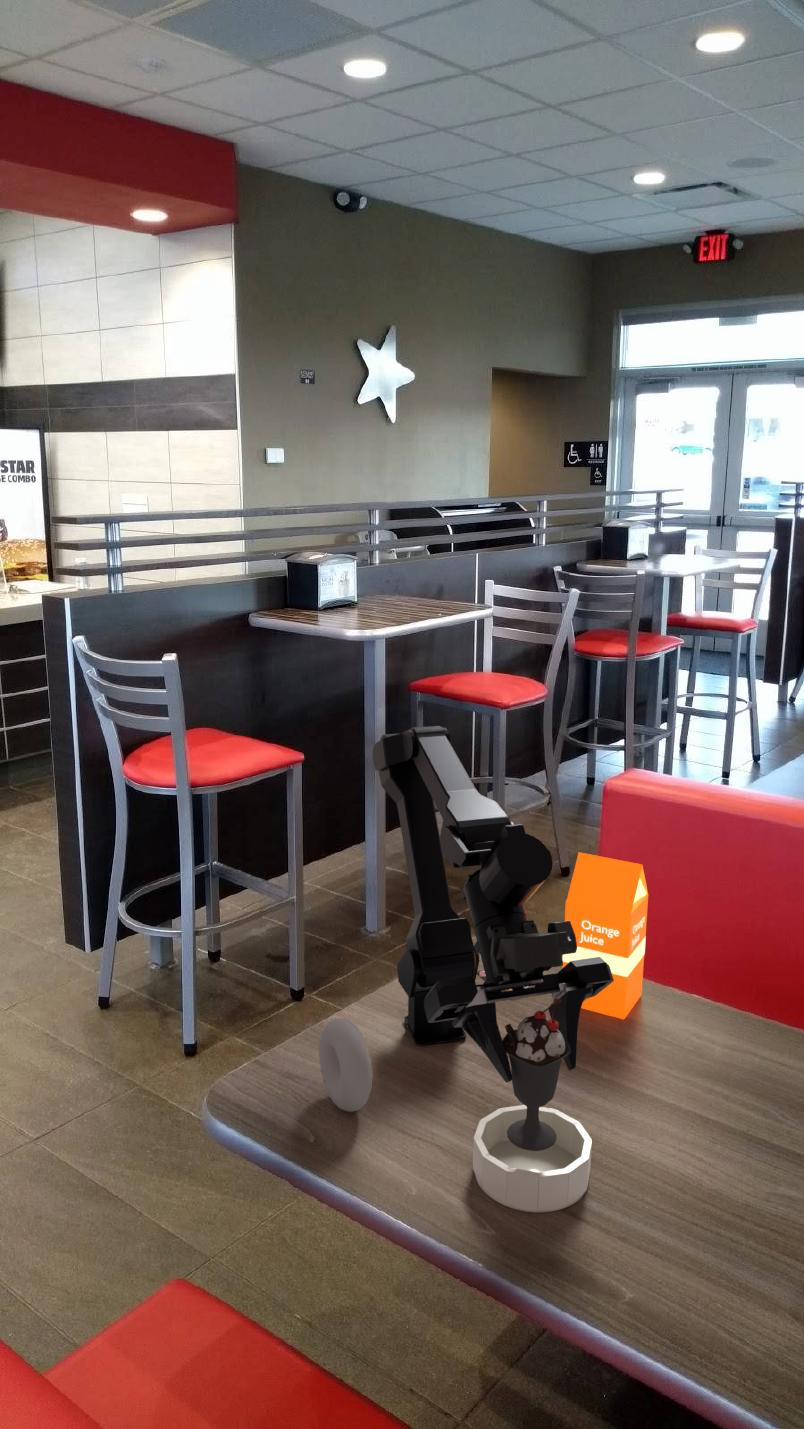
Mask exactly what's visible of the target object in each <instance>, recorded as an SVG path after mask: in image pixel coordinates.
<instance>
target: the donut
mask: <svg viewBox="0 0 804 1429" xmlns="http://www.w3.org/2000/svg"><path fill="white" fill-rule="evenodd" d="M318 1045H319V1047H318V1054H319V1055H318V1056H319V1065H320V1071H321V1076H322V1081H323V1083H324V1087H325V1090H326V1092H327V1093H328V1095H329V1097H330V1099H331V1100H332V1102H333V1103H334V1105H335V1106H337V1107H338V1108H339V1109H340V1110H343V1111H346V1112H351V1113H352V1112H356V1111H359V1110H360V1109H361V1108H362V1107H363V1106H364V1105H366V1103H367V1102H368V1100H369V1098H370V1094H371V1092H372V1083H373V1070H372V1062H371V1056H370V1053H369V1052H370V1051H369V1049H368V1045H367V1043H366V1040H365V1039H364V1035H363V1034H362V1033H361V1030H360V1029H359V1027H358V1026H357V1025H356V1024H355V1023H353V1022H352V1021H351V1019H348V1018H344V1017H342V1018H341V1017H340V1018H339V1017H338V1018H333V1019H331V1020H330V1021H328V1022H327V1023H326V1025H325V1026H324V1027H323V1029H322V1030H321V1035H320V1039H319V1044H318Z"/></svg>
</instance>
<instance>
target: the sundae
mask: <svg viewBox="0 0 804 1429" xmlns="http://www.w3.org/2000/svg"><path fill="white" fill-rule="evenodd" d="M554 1002H557V1003H556V1005H557V1004H558V1003H560V1002H561V1000H560V999H557V998H555V999H554V1001H553V1002H552V1003H551V1004H550V1005H549V1006H548V1007H547V1008H546V1009H544V1010H543V1011H542V1010H537V1011H535V1012H534V1014H533V1015H531V1016H526V1017H525V1018H524V1019H522V1020H521V1021H520V1022H518V1025H517V1029H514V1027H513V1026H512V1024H511V1023H509V1024H508V1023H507V1024H506V1025H504V1028H505V1031H506V1034H505V1035H504V1037H503V1038H502V1041H503V1044H504V1047H505V1051H506V1054H507V1056H508V1059H509V1064H510V1069H511V1074H512V1080H511V1084H512V1088H513V1095H514V1096H515V1097H516V1099H517V1100H518V1101H519V1102H520V1103H521V1105H526V1106H527V1116H526V1119H524V1120H520V1121H517V1122H515V1123H513V1124H512V1125H510V1127H509V1128H508V1130H507V1137H508V1139H509V1140H510V1141H511V1142H512V1143H513V1144H514V1145H515V1146H517V1147H519V1148H522V1149H525V1150H529V1151H540V1150H545V1149H547V1148H549V1147H551V1146H552V1145H553V1144H554V1143H555V1141H556V1139H557V1138H556V1133H555V1131H554V1130H553V1128H552V1127H551V1126H549V1125H547V1124H546V1123H544V1122H541V1121H539V1107H545V1105H547V1104H548V1103H549V1102H551V1101H552V1099H554V1097H555V1096H554V1095H555V1092H556V1090H557V1089H556V1088H557V1086H558V1079H559V1075H560V1070H561V1066H562V1062H563V1060H564V1058H565V1057H567V1056H568V1055H569V1054H570V1052H571V1050H570V1046H569V1044H568V1042H567V1041H566V1039H565V1038H564V1037H563V1036H562V1034H561V1032H560V1031H559V1030H557V1029H558V1027H559V1023H558V1022H557V1021H556V1020H554V1009H555V1007H556V1005H555V1006H554V1008H553V1011H552V1019H551V1018H550V1019H547V1015H546V1012H547V1011H549V1010H548V1009H549V1008H550V1007H551V1006H552V1005H553V1004H554Z"/></svg>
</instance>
